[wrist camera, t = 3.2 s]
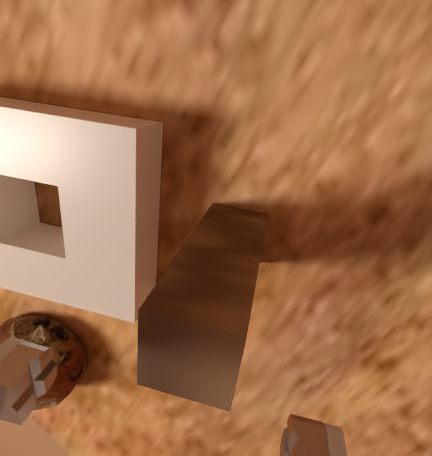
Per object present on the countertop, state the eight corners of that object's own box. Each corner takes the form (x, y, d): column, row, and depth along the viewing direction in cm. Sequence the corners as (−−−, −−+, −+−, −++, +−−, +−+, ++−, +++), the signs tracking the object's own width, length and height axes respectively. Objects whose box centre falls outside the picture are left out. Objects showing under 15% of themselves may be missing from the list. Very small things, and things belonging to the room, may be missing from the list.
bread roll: (26, 302, 36) (-47, 357, 31) (44, 296, 28) (-49, 368, 23) (81, 360, 38) (21, 421, 33) (111, 369, 31) (40, 449, 25)
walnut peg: (268, 214, 21) (246, 337, 10) (257, 262, 23) (230, 411, 12) (212, 203, 22) (138, 309, 11) (206, 251, 23) (137, 384, 13)
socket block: (163, 122, 20) (135, 128, 17) (155, 291, 26) (134, 323, 23) (-40, 90, 22) (-102, 89, 19) (-4, 252, 28) (-46, 275, 25)
